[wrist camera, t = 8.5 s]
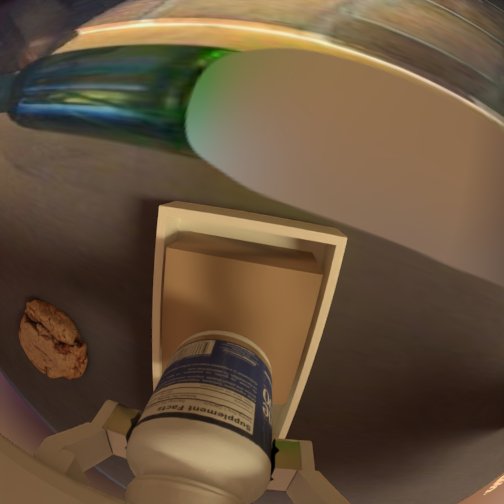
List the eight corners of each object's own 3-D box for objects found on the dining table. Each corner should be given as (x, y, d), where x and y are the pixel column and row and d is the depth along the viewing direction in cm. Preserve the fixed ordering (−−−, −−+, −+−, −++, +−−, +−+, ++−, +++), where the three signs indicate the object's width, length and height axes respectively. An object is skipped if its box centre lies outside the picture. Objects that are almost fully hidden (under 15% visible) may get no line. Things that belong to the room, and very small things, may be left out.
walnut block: (312, 252, 21) (323, 275, 16) (284, 365, 24) (285, 404, 19) (189, 231, 21) (166, 247, 16) (180, 345, 24) (161, 381, 19)
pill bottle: (256, 414, 16) (242, 561, 6) (168, 388, 15) (105, 524, 6) (287, 343, 14) (298, 525, 5) (183, 312, 14) (88, 470, 5)
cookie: (17, 327, 27) (3, 338, 24) (44, 279, 25) (26, 289, 22) (68, 387, 28) (56, 400, 25) (105, 352, 26) (91, 368, 23)
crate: (336, 227, 21) (347, 237, 18) (277, 433, 27) (276, 458, 23) (176, 200, 21) (159, 205, 18) (166, 412, 27) (156, 434, 24)
